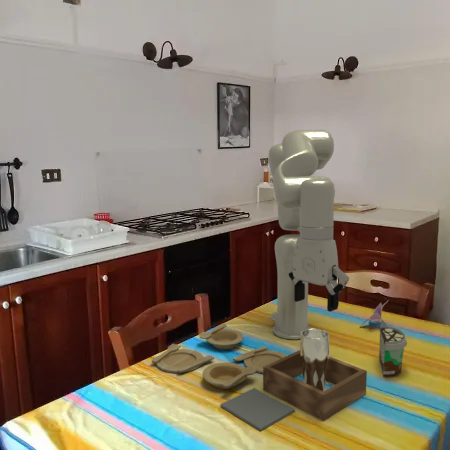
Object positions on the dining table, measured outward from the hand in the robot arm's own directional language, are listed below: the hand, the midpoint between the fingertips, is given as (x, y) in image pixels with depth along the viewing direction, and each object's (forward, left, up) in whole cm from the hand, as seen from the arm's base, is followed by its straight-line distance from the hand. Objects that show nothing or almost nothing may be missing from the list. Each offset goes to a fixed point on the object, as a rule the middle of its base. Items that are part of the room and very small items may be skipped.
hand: (315, 305), depth 112 cm
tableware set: (-27, -5, -23) cm, 36 cm away
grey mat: (-4, -15, -22) cm, 27 cm away
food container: (+7, +25, -23) cm, 34 cm away
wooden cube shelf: (0, 0, -22) cm, 22 cm away
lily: (-13, +48, -23) cm, 54 cm away
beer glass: (0, 0, -22) cm, 22 cm away
